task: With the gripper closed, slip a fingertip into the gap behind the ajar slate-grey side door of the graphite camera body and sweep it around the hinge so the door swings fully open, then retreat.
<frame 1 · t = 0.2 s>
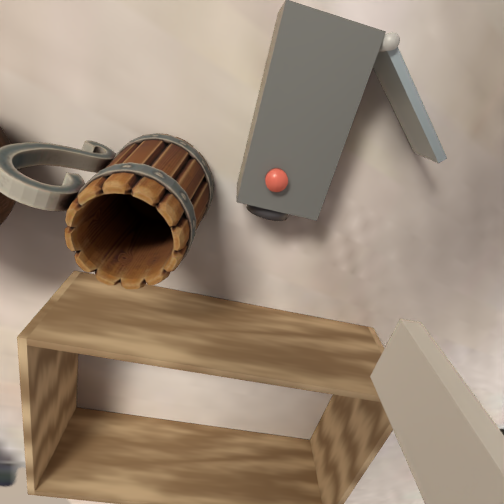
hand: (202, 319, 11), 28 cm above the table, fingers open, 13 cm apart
mug: (144, 170, 37), on the table
camera body: (293, 117, 35), on the table
side door: (404, 100, 31), point 3 cm above the table, hinge at 50.0°
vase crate: (213, 371, 50), on the table
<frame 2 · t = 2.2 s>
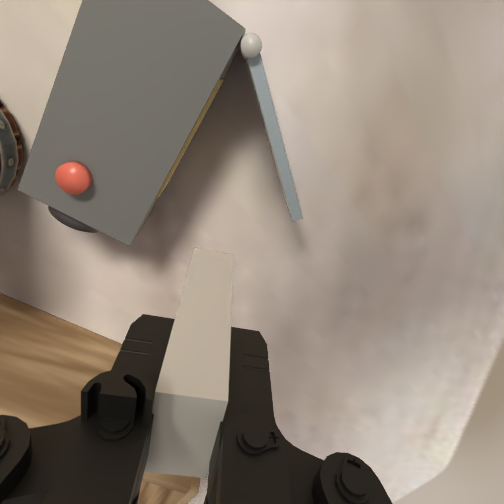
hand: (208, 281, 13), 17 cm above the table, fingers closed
camera body: (145, 107, 26), on the table
side door: (272, 132, 24), point 3 cm above the table, hinge at 50.0°
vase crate: (5, 386, 40), on the table
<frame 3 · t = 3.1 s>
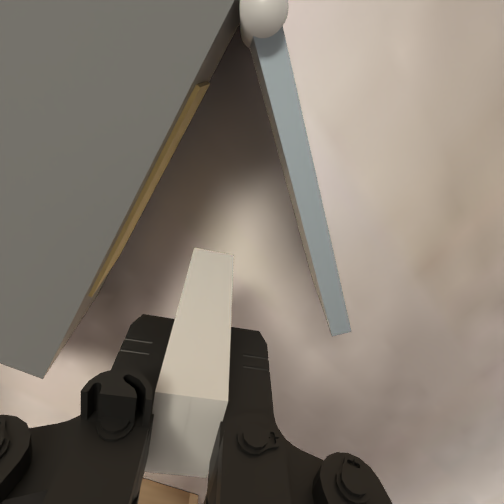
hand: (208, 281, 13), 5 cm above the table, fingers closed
camera body: (76, 131, 15), on the table
side door: (298, 179, 14), point 3 cm above the table, hinge at 50.0°
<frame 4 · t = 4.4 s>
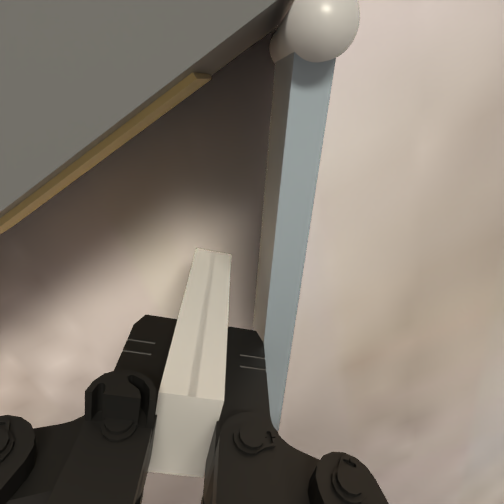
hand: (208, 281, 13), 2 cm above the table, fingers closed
camera body: (17, 51, 11), on the table
side door: (278, 236, 11), point 3 cm above the table, hinge at 53.7°, touching gripper
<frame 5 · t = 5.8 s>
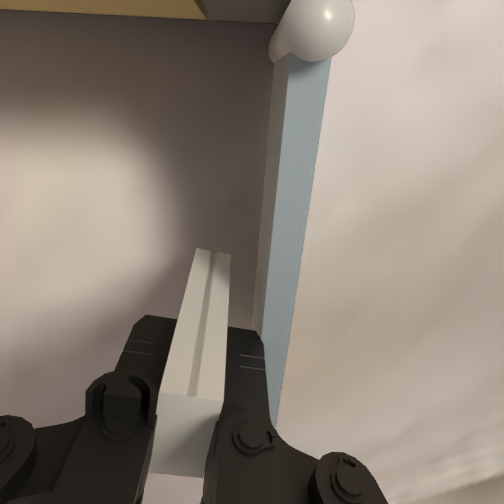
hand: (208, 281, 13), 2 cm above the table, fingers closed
side door: (276, 234, 11), point 3 cm above the table, hinge at 88.5°, touching gripper
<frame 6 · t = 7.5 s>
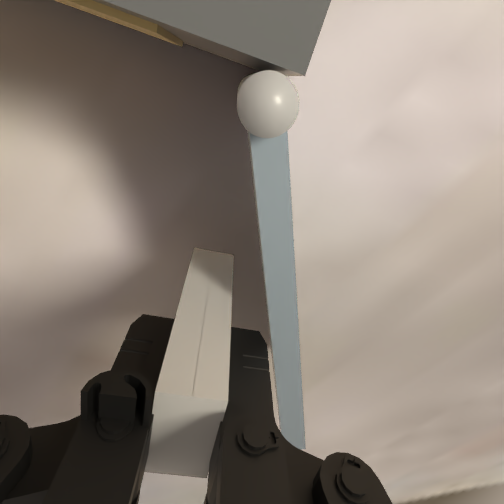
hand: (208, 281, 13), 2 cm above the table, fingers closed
side door: (274, 269, 12), point 3 cm above the table, hinge at 114.0°
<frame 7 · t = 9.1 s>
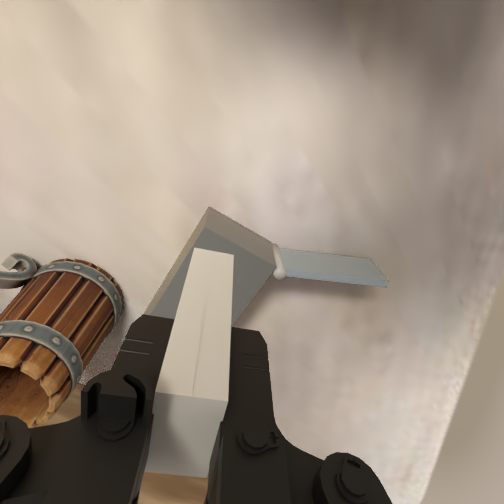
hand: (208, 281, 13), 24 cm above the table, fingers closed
mug: (62, 281, 40), on the table
camera body: (205, 278, 41), on the table
side door: (325, 266, 37), point 3 cm above the table, hinge at 114.0°
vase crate: (84, 450, 53), on the table
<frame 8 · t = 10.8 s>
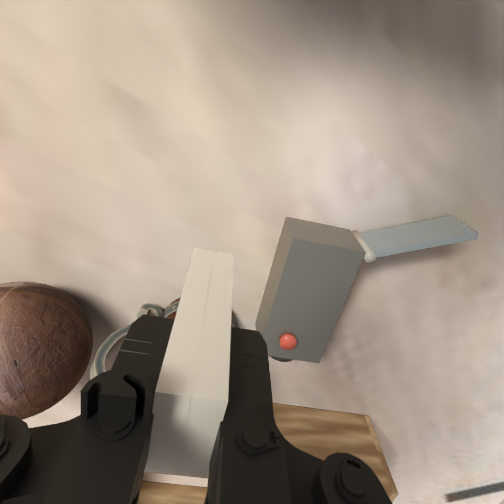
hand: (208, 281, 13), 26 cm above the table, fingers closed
mug: (182, 315, 47), on the table
camera body: (299, 279, 44), on the table
side door: (409, 236, 39), point 3 cm above the table, hinge at 114.0°
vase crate: (236, 450, 60), on the table
coconut: (52, 307, 46), on the table
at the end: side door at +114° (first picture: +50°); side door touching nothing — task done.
